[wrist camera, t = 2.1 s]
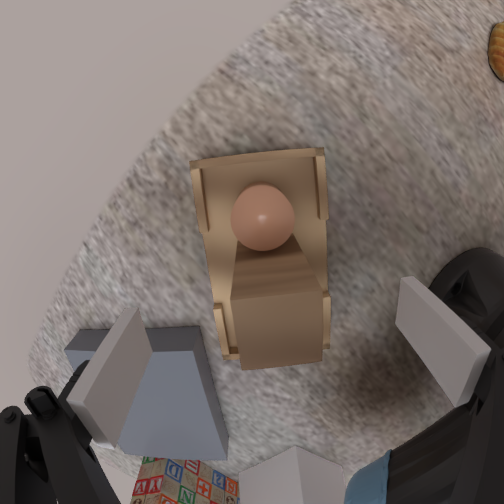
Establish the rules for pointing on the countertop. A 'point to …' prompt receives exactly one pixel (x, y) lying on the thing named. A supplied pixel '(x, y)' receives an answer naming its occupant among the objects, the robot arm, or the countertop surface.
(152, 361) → the dock
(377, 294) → the countertop surface
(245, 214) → the brown egg
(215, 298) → the carrier tray
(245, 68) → the countertop surface
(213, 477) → the stack of blocks
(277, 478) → the milk
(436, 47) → the countertop surface
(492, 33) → the pastry
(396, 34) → the countertop surface
